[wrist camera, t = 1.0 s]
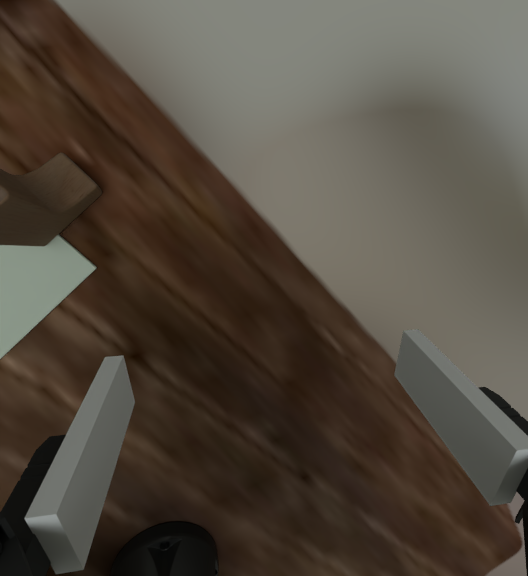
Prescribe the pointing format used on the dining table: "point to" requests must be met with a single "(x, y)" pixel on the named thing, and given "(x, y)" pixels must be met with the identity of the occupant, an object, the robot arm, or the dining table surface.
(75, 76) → the dining table surface
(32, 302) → the mat
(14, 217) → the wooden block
